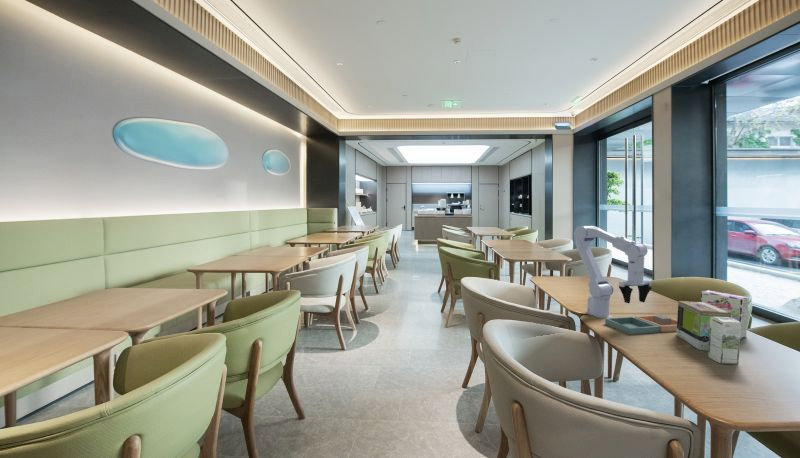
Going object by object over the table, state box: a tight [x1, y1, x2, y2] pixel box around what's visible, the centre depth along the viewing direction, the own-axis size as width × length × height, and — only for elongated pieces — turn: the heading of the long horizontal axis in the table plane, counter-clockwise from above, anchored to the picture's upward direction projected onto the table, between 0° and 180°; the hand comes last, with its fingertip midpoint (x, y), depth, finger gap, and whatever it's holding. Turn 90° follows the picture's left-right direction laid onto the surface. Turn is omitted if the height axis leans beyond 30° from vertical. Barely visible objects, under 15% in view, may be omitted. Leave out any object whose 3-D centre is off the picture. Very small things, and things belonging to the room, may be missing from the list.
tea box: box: [676, 300, 731, 352], centre depth 136 cm, size 15×10×15 cm, turn 168°
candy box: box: [700, 289, 750, 340], centre depth 148 cm, size 14×6×16 cm, turn 25°
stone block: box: [652, 314, 671, 326], centre depth 155 cm, size 5×4×4 cm
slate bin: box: [604, 316, 660, 336], centre depth 153 cm, size 14×14×3 cm
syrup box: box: [707, 317, 741, 365], centre depth 121 cm, size 6×6×14 cm
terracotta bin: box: [634, 314, 677, 333], centre depth 156 cm, size 14×14×3 cm
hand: (634, 302), depth 157 cm, fingers open, 7 cm apart
